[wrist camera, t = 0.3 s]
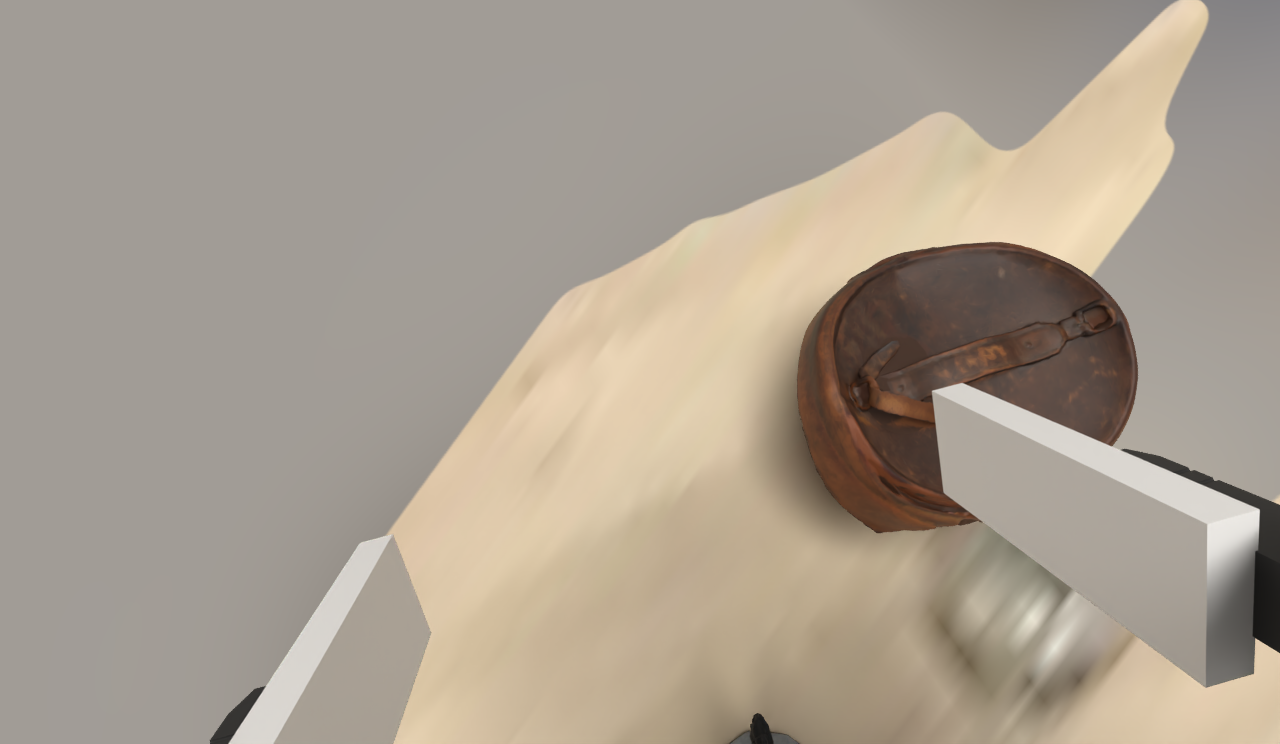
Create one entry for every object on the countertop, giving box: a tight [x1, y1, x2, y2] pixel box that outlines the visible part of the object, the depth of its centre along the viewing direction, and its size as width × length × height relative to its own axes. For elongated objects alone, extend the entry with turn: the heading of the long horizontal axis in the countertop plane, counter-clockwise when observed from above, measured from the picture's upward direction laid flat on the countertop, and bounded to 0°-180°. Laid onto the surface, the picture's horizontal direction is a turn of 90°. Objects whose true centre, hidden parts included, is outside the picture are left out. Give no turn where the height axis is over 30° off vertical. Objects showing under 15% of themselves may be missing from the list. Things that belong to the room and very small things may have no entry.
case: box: [797, 242, 1138, 533], centre depth 42 cm, size 18×20×18 cm
